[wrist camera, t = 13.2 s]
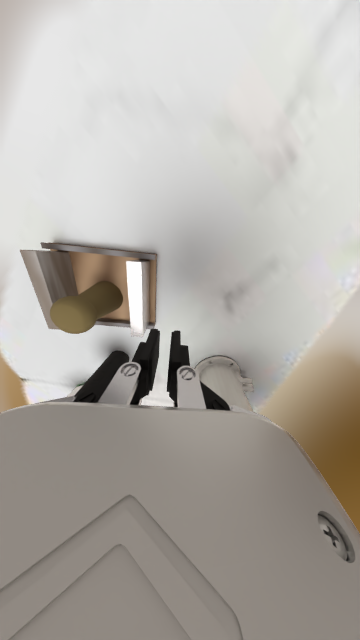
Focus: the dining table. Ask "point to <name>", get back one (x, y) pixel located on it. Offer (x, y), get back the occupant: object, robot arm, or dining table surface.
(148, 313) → the sliding jaw
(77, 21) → the dining table surface
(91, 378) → the drinking cup
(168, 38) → the dining table surface
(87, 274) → the base
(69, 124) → the dining table surface
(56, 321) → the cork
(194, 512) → the robot arm
